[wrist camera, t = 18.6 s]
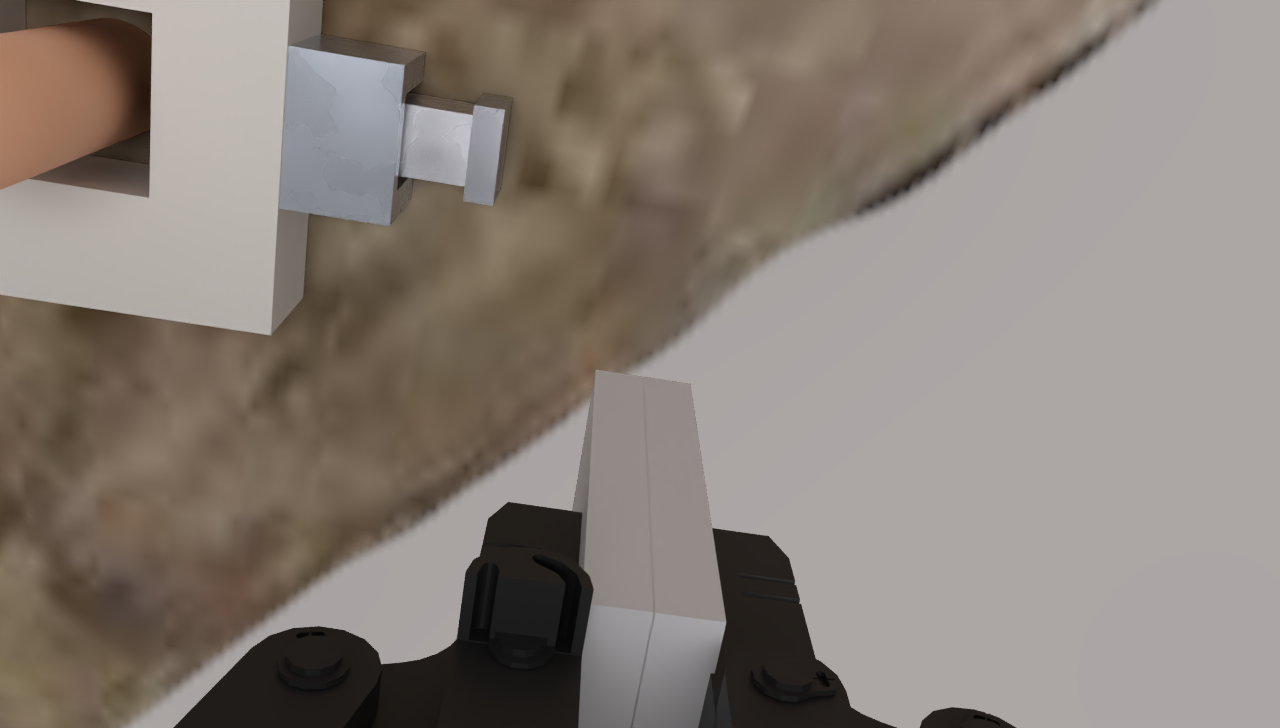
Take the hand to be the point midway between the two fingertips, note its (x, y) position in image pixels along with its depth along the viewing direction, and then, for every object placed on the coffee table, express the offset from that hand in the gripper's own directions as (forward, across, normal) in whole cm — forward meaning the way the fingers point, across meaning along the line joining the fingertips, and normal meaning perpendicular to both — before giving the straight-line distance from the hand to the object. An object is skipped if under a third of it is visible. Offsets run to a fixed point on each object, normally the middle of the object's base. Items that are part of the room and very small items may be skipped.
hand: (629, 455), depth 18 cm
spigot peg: (+24, -18, 0) cm, 30 cm away
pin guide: (+24, -9, 0) cm, 26 cm away
